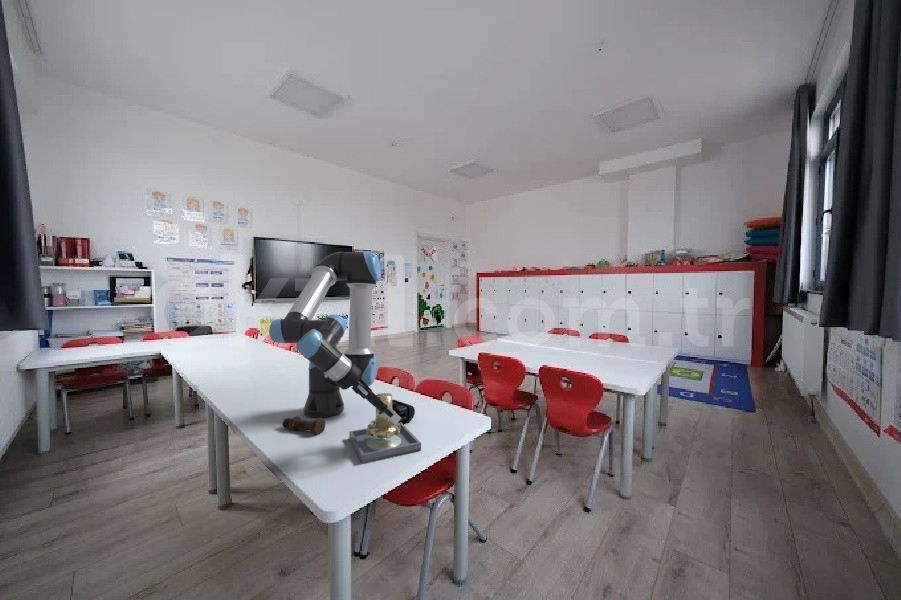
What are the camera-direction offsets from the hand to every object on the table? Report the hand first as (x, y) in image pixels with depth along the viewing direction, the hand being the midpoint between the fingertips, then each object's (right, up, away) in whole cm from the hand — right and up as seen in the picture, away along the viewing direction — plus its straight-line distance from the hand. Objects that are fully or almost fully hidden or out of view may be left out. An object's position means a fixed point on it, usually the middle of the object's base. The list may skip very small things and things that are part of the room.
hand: (395, 418), depth 107 cm
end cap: (-2, -8, +19) cm, 21 cm away
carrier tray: (-3, -8, -1) cm, 9 cm away
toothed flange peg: (-3, -4, -2) cm, 5 cm away
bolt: (-34, -8, +8) cm, 35 cm away
